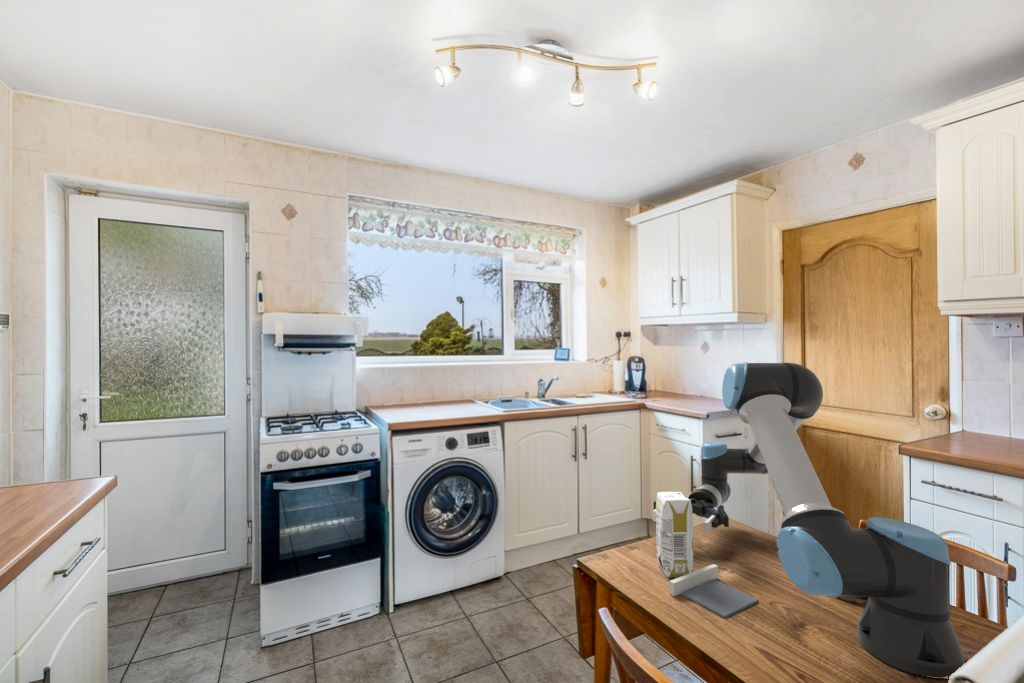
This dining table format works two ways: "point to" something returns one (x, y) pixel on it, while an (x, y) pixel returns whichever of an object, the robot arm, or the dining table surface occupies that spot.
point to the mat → (719, 598)
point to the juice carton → (674, 533)
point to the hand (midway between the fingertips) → (679, 521)
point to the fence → (693, 579)
